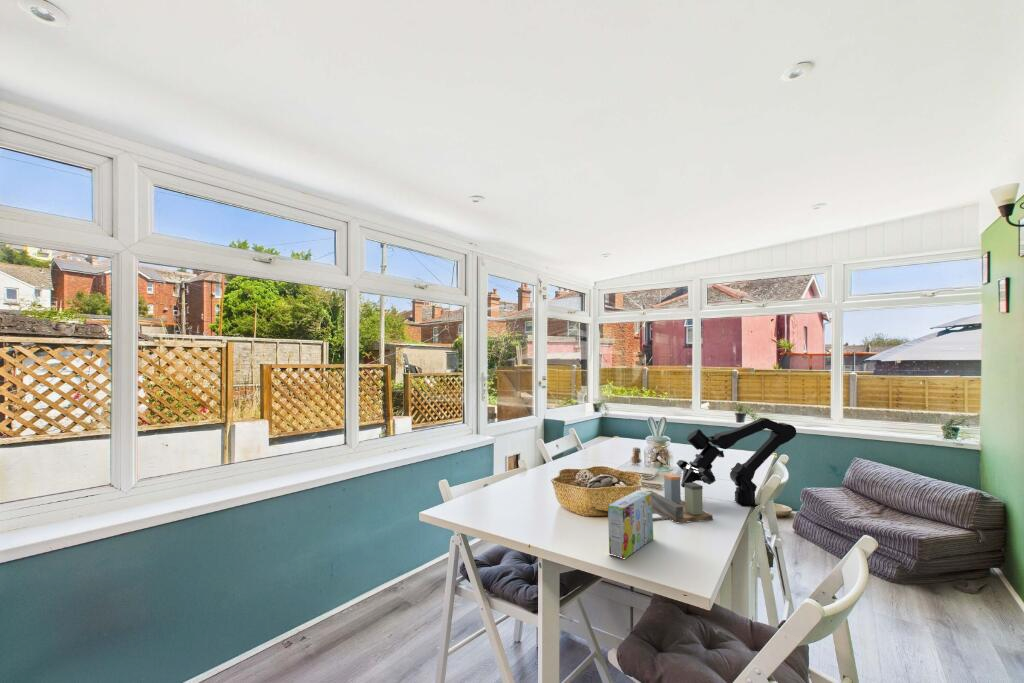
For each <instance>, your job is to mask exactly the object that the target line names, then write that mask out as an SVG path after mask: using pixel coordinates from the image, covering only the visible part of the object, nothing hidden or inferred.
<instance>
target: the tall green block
mask: <svg viewBox="0 0 1024 683" xmlns="http://www.w3.org/2000/svg"><path fill="white" fill-rule="evenodd" d="M684 486H685V487H684V502H685V511H687V512H688V513H690V514H692V515H698V514H703V511H704V510H703V509H704V508H703V506H704V505H703V485H701V484H699V483H697V482H695V481H694V482H692V483H684Z"/></svg>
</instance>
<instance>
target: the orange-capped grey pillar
mask: <svg viewBox="0 0 1024 683" xmlns="http://www.w3.org/2000/svg"><path fill="white" fill-rule="evenodd" d="M663 479H664V480H663V482H664V483H663V484H664V487H663V488H664V497H665V498H667V499H669V500H671V501H673V502H675V503H681V500H682V498H681V481H682V479H681V476H679V475H678V474H677V475H676V474H674V473H668V474H666V473H665V474H663Z"/></svg>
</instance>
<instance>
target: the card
mask: <svg viewBox="0 0 1024 683" xmlns="http://www.w3.org/2000/svg"><path fill="white" fill-rule="evenodd" d="M652 516H653V520H656V521H663V520H662V519H668V520H670V518H668V517H667V516H665V515H663V514H661V513H660V512H658V511H656V510H655V509H653V508H652Z"/></svg>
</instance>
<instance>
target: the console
mask: <svg viewBox="0 0 1024 683" xmlns="http://www.w3.org/2000/svg"><path fill="white" fill-rule="evenodd" d="M646 491H647V492H651V493H652V508H653V509H655V510H656V511H658V512H660V513H661V514H663V515H665V516H667V517H668V518H670V519H671V520H670V519H669V520H670V521H672V520H673V521H674V522H673V521H672V522H673V523H675V522H682V523H688V522H687V521H693V522H700V521H699V520H705V521H712V520H714V519H713V518H714V516H713V515H712V514H710V513H709V512H706V511H705V510H703V514H698V515H692V514H690V513H688V512H687V511H685V500H684V501H683V500H682V499H681V503H675V502H673V501H671V500H669V499H667V498H665V496H663V495H661V494H659V493H657V492H655V491H653V490H646Z"/></svg>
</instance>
